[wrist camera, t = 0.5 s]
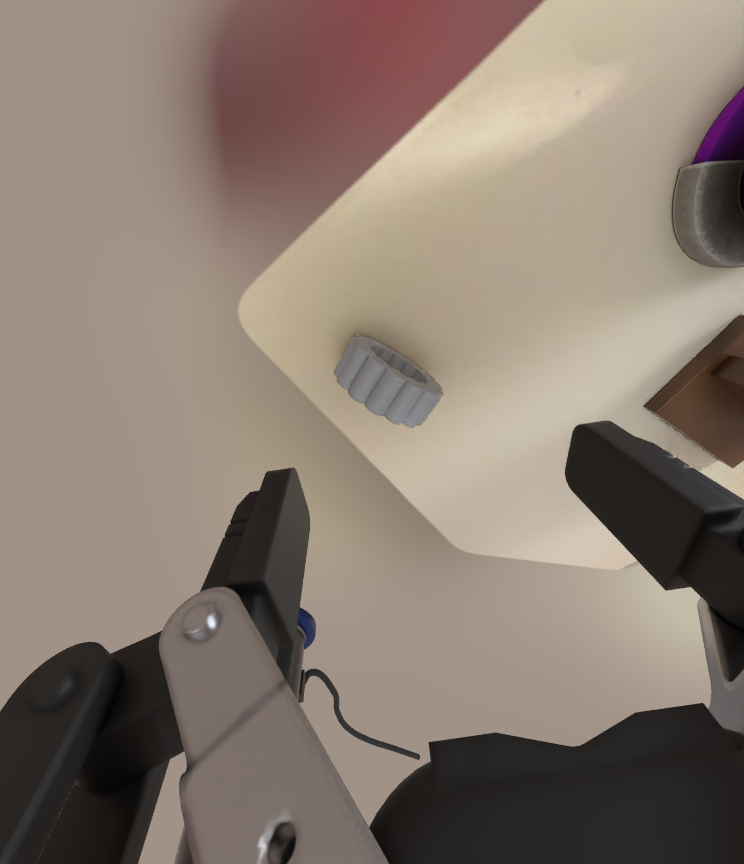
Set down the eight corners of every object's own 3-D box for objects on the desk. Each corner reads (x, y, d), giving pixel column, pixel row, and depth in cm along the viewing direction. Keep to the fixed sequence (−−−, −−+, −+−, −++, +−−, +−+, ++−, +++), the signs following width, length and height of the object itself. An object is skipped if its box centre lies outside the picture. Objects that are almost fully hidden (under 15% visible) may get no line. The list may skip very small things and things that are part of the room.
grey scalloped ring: (412, 398, 30) (431, 442, 23) (335, 356, 28) (330, 392, 21) (431, 371, 29) (456, 409, 22) (352, 325, 26) (353, 352, 20)
